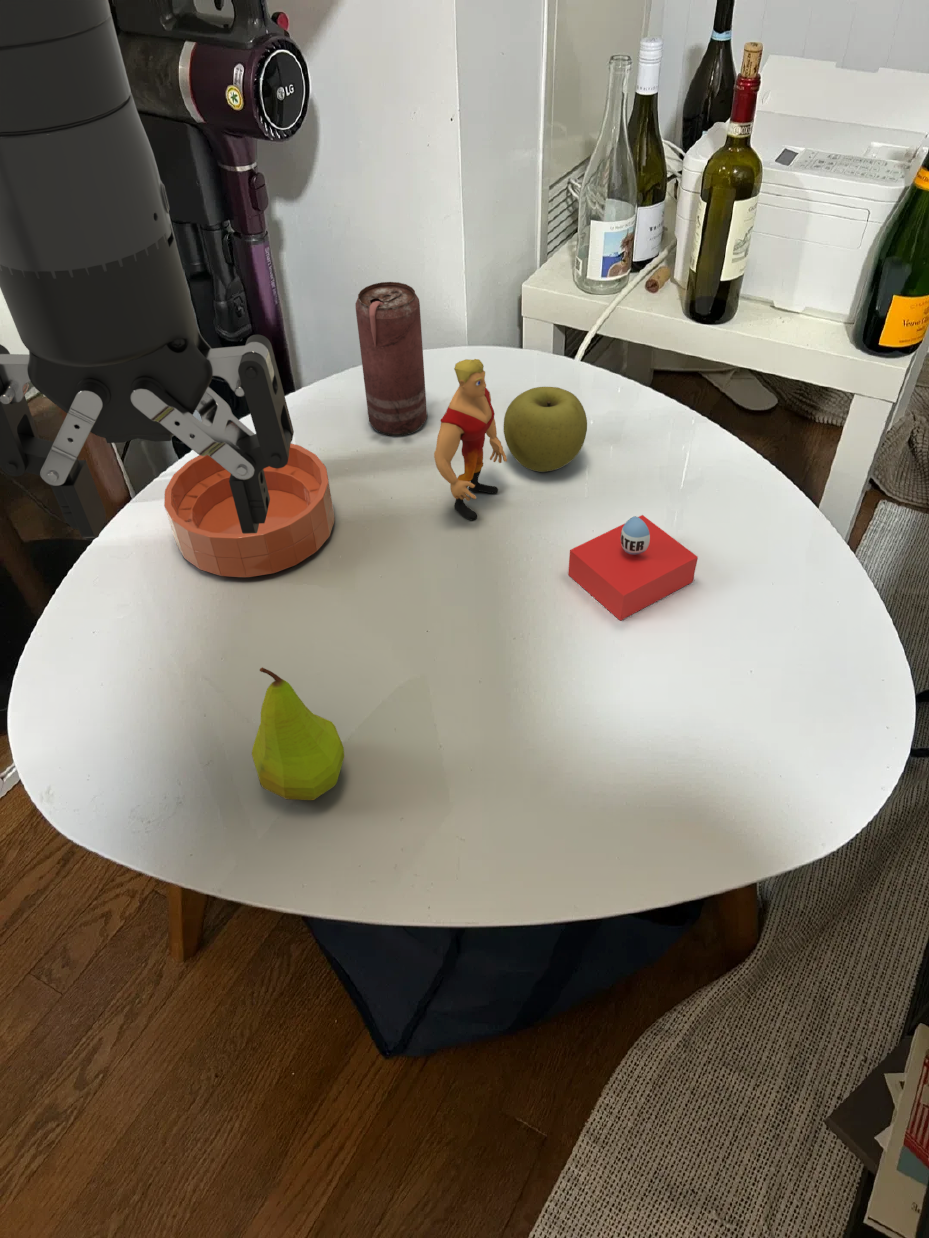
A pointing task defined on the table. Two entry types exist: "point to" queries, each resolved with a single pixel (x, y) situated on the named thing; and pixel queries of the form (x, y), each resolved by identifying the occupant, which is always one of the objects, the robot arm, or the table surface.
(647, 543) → the red rectangular block
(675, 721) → the table surface
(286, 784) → the fruit
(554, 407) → the apple
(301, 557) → the bowl
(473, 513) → the action figure
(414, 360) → the can
